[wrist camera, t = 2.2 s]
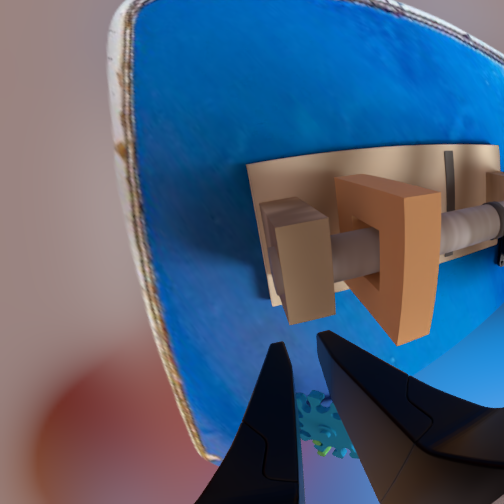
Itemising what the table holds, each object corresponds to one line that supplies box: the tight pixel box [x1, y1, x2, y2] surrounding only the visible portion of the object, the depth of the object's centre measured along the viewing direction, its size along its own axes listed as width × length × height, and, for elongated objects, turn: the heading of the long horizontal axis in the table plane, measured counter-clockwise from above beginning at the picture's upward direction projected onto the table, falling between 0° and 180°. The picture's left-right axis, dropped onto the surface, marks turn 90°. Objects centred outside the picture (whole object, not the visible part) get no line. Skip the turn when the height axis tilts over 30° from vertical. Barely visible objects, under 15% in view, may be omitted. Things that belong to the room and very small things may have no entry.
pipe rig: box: [246, 144, 504, 325], centre depth 17 cm, size 24×10×7 cm, turn 100°
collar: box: [334, 174, 441, 346], centre depth 14 cm, size 2×7×8 cm, turn 10°
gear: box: [296, 390, 359, 458], centre depth 24 cm, size 11×6×10 cm
